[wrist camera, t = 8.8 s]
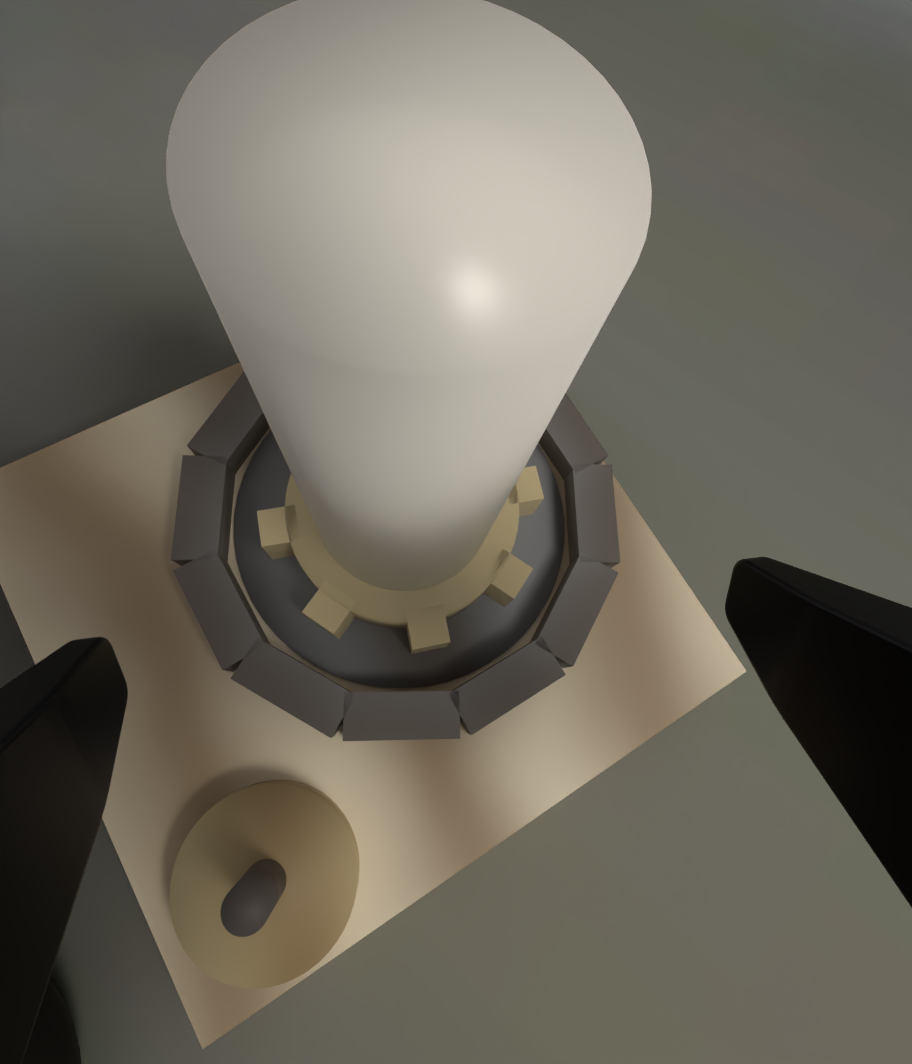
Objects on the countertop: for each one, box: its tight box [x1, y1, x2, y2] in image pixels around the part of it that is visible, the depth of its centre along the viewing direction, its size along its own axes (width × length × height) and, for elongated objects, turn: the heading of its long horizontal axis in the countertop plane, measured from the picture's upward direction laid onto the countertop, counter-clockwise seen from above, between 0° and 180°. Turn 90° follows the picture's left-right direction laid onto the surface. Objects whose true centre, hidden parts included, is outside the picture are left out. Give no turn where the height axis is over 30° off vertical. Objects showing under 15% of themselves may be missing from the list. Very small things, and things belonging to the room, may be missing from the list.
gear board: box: [0, 362, 746, 1049], centre depth 17 cm, size 17×16×4 cm
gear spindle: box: [166, 0, 652, 654], centre depth 12 cm, size 8×8×12 cm
